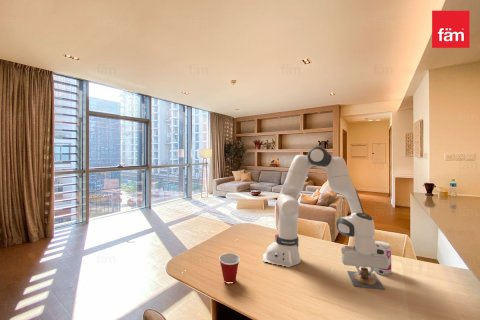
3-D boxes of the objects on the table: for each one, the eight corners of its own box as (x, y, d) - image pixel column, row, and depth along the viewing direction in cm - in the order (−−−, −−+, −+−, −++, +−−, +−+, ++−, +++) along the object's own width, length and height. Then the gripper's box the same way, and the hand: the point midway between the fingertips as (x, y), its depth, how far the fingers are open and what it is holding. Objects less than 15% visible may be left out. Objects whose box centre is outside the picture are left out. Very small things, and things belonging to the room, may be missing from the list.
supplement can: (394, 276, 109) (394, 247, 108) (376, 275, 110) (376, 246, 110) (386, 268, 117) (386, 240, 116) (370, 267, 118) (369, 240, 118)
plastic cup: (235, 289, 101) (234, 264, 101) (215, 284, 106) (214, 260, 106) (244, 277, 111) (243, 254, 111) (225, 273, 116) (225, 251, 115)
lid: (356, 283, 103) (356, 273, 103) (350, 272, 112) (350, 262, 112) (380, 286, 100) (380, 275, 100) (372, 274, 110) (372, 264, 110)
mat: (353, 286, 102) (353, 285, 102) (347, 271, 114) (347, 270, 114) (385, 289, 99) (385, 288, 99) (374, 274, 111) (374, 273, 111)
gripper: (342, 248, 106) (343, 276, 106) (390, 251, 101) (390, 280, 101) (340, 242, 112) (340, 269, 112) (384, 246, 107) (385, 273, 107)
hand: (364, 274), depth 106 cm, fingers closed on lid, 3 cm apart
